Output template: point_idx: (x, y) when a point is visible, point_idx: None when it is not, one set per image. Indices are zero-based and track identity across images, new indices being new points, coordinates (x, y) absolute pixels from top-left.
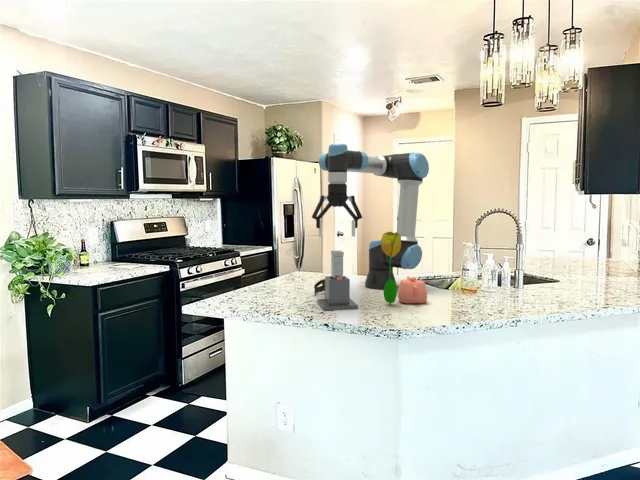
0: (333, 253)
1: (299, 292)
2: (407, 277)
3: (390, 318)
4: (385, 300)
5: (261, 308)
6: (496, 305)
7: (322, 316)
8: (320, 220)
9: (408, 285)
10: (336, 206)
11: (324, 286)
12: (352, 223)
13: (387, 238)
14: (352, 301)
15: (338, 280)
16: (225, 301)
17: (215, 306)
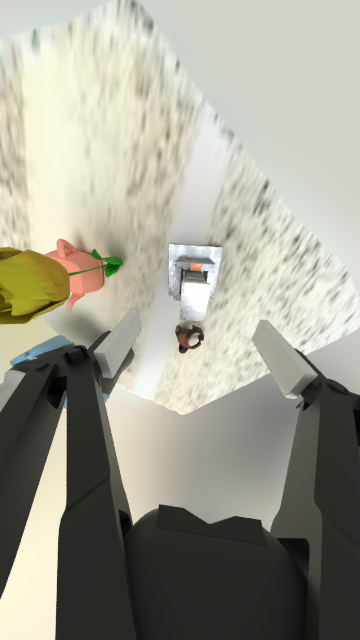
0: (208, 290)
1: (213, 348)
2: (71, 305)
3: (132, 154)
4: (122, 263)
5: (298, 283)
6: None
7: (239, 204)
8: (315, 374)
9: (72, 260)
10: (226, 520)
11: (193, 330)
12: (117, 354)
13: (10, 266)
14: (170, 272)
15: (197, 263)
16: (318, 330)
17: (348, 308)
